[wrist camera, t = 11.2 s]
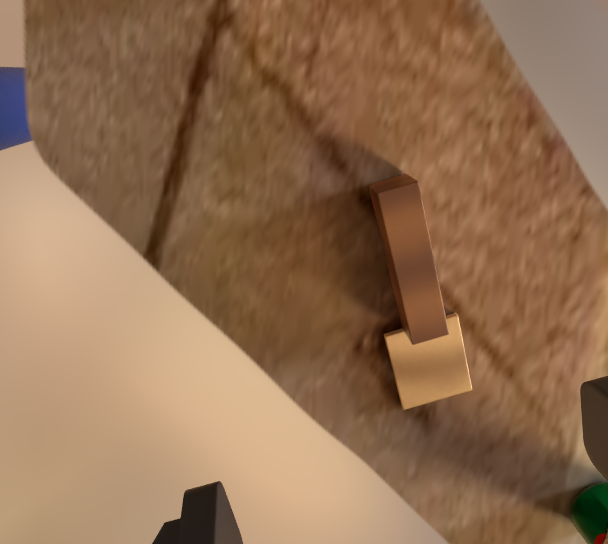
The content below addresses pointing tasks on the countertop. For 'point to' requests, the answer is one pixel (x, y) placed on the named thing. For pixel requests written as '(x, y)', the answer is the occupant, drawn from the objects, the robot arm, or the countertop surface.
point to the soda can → (592, 513)
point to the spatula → (417, 300)
